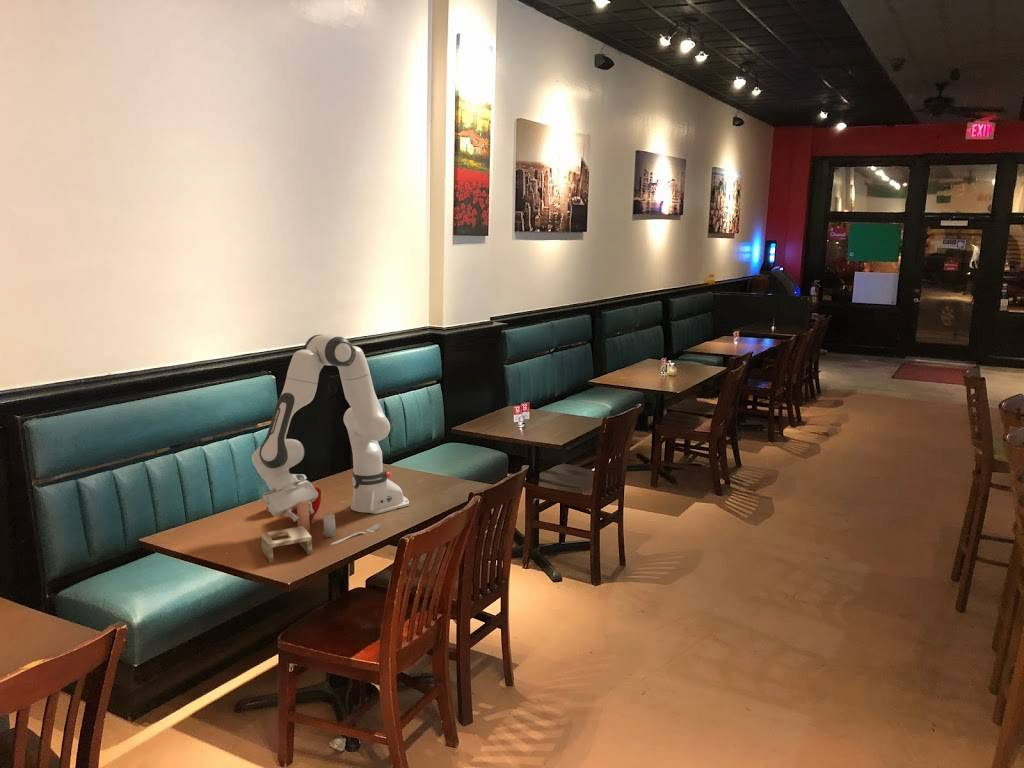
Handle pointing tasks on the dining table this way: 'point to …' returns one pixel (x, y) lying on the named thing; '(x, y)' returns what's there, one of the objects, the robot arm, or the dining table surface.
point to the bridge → (286, 540)
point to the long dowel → (303, 515)
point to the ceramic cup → (313, 504)
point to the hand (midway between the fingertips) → (304, 517)
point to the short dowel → (329, 525)
